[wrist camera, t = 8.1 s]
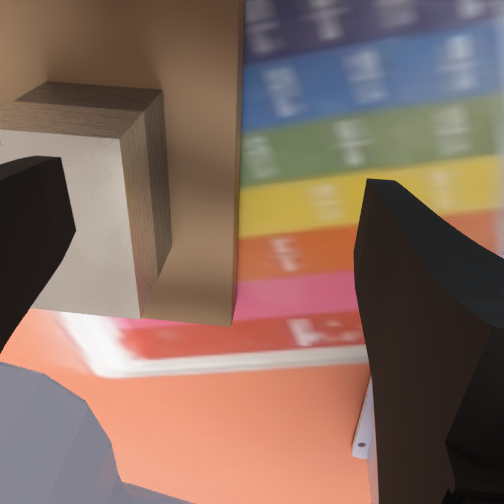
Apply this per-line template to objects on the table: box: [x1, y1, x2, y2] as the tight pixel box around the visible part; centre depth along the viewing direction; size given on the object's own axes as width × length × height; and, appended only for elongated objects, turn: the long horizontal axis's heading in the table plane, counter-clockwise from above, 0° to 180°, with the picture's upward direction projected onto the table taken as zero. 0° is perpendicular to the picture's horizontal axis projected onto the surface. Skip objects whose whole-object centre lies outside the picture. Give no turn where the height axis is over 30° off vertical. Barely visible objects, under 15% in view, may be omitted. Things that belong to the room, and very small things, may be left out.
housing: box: [0, 81, 172, 320], centre depth 18 cm, size 7×4×5 cm, turn 177°
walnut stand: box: [0, 0, 245, 327], centre depth 21 cm, size 16×10×2 cm, turn 178°
